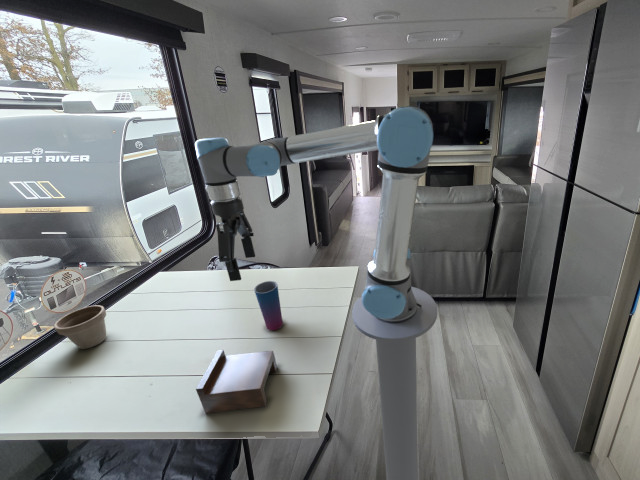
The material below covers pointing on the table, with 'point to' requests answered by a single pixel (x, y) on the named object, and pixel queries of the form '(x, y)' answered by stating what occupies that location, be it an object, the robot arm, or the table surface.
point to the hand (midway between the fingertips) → (243, 267)
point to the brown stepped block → (235, 381)
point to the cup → (269, 304)
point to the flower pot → (84, 326)
